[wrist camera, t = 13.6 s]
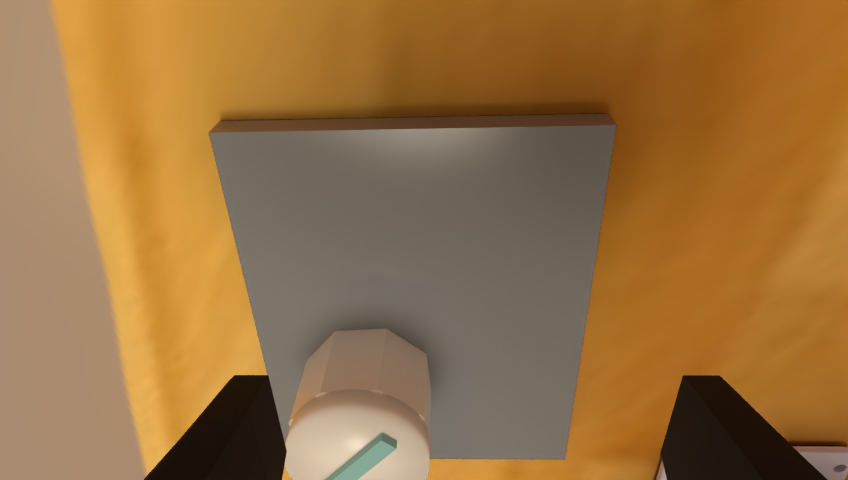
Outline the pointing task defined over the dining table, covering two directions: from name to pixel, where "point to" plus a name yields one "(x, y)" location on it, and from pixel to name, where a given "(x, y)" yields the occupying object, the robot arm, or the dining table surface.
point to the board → (428, 257)
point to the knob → (361, 410)
